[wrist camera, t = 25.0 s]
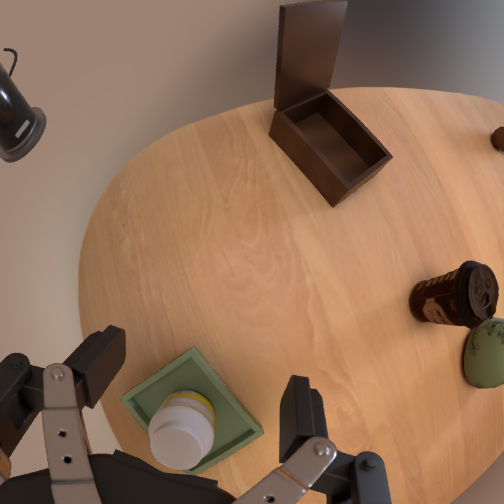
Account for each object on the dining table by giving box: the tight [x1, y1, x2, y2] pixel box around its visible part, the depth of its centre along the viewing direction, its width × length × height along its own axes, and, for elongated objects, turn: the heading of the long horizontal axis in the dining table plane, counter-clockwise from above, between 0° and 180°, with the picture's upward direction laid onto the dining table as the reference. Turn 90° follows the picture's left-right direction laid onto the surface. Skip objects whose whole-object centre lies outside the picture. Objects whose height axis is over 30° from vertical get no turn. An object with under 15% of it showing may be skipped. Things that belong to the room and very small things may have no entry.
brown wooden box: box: [269, 89, 393, 207], centre depth 38 cm, size 15×11×6 cm
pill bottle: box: [148, 389, 215, 470], centre depth 25 cm, size 6×6×12 cm
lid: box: [274, 0, 347, 110], centre depth 29 cm, size 16×11×1 cm
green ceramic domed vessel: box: [464, 317, 504, 389], centre depth 33 cm, size 16×13×9 cm
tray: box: [119, 346, 264, 476], centre depth 30 cm, size 14×12×3 cm
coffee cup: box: [409, 261, 499, 329], centre depth 31 cm, size 9×8×13 cm
